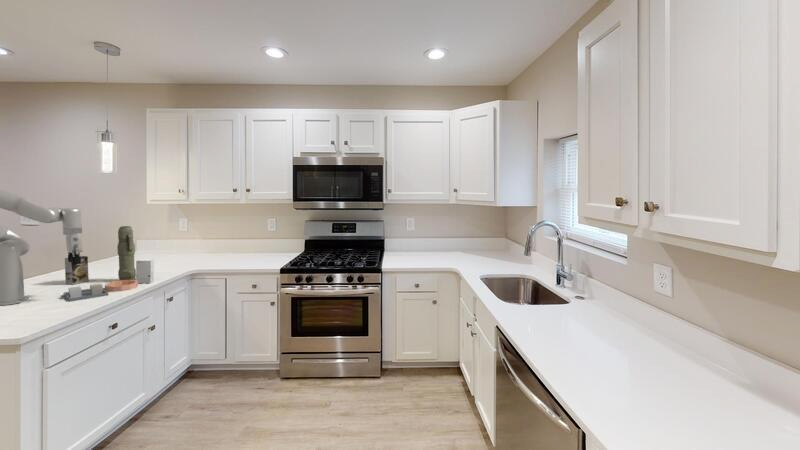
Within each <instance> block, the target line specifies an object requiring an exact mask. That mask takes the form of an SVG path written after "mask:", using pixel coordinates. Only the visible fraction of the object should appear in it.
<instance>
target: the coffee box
mask: <svg viewBox="0 0 800 450" xmlns="http://www.w3.org/2000/svg"><path fill="white" fill-rule="evenodd" d="M80 257H81V264H75V265H73V262H68V257H64V271H65V272H64V274H65V277H64V278H65V284H66V285H72V286H74V285H79V284H82V283H88V282H89V278H90V277H89V262H88V261H89V260H88V258H89V257H88V255H87V256H86V255H80Z"/></svg>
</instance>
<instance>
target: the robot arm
mask: <svg viewBox="0 0 800 450" xmlns="http://www.w3.org/2000/svg"><path fill="white" fill-rule="evenodd" d="M0 209H3V210H5V211H9V212H12V213H14V214H16V215H19V216H21V217H23V218H26V219H28V220H33V221H36V222H39V223H42V224H43V223H44V224H52V223H56V222H61V223H62V235H64V236H65V244H66V251H67V258H68V262H73V265H75V264H81V257H80V256H81V253H82V252H83V243H82V237H81V235H83V228H82V227H83V225H82V213H81V209H79V208H77V207H76V208H75V207H71V208H70V207H68V208H67V207H66V208H61V207H43V206H40V205H36V204H34V203H31V202H29V201H28V200H27V199H26V198H25V197H24V196H22V195H18V194H15V193H11V192H8V191H7V190H6V189H5V188H3V187H1V186H0ZM30 247H31V246H30V244H29V242H27V240H26V239H24V238H23V237H21V236H20V235H18V234H17V233H15V232H14V231H12V230H11V229H9V228H7V227H6V226H4V225H0V306H8V305H9V306H10V305H16V304H20V303H22V302H27V301H29V299H30V297H29V296H27V295H25V283H24V267H23V263H22V260H21V256H25V255H26V254H28V252H29V251H30Z"/></svg>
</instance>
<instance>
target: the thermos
mask: <svg viewBox="0 0 800 450" xmlns="http://www.w3.org/2000/svg"><path fill="white" fill-rule="evenodd" d="M117 237H118V238H117V239H118V240H117V241H118V244H117V246H116V247H117V248H116V249H117V255H118V272H117V274H118V281H120V280H136V265H135V252H136V247H135V243H134V231H133V228H132V226H130V225H129V226H127V225H125V226H124V225H123V226H120V227H118V231H117Z"/></svg>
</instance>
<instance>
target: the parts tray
mask: <svg viewBox="0 0 800 450" xmlns="http://www.w3.org/2000/svg"><path fill="white" fill-rule="evenodd" d="M81 292H82V297H76V298H70V297H69V291H65V292H63V297H64V298H65V299H66V300H67V301H69V302H76V301H81V300H87V299H88V300H89V299H95V298H101V297H107V296H109V291H106V290H105V288H103V293H101V294H95V295H91V294H90V288H87V289H85V288H84V289H81Z"/></svg>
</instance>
